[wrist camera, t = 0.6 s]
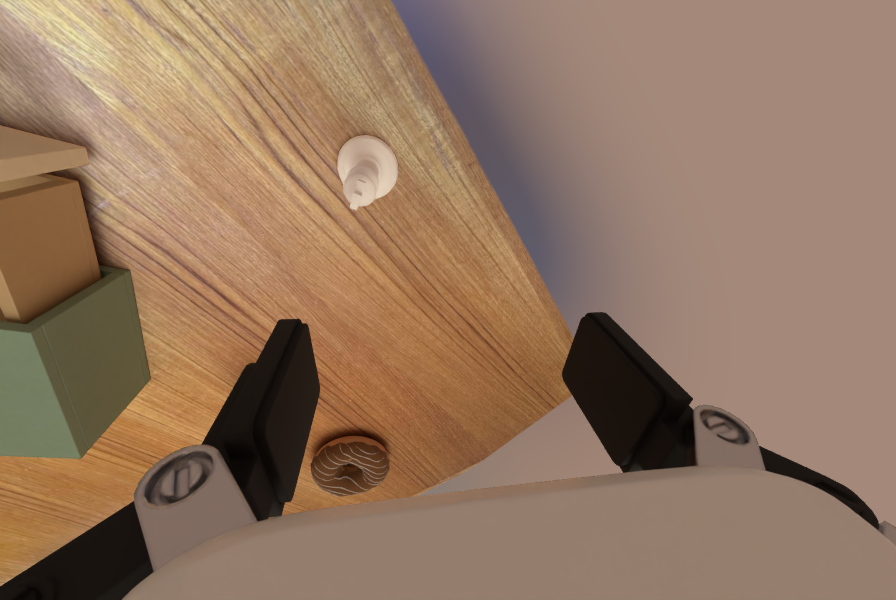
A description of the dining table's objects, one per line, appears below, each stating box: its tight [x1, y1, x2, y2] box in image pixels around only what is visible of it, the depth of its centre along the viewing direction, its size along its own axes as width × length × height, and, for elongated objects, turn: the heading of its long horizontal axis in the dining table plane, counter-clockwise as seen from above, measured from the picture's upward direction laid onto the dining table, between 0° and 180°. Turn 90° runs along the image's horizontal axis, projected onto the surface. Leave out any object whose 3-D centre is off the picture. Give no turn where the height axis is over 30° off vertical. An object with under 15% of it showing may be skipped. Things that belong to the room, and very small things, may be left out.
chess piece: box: [337, 135, 398, 210], centre depth 22 cm, size 5×5×10 cm
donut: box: [311, 436, 389, 496], centre depth 44 cm, size 11×11×4 cm
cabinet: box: [0, 265, 151, 459], centre depth 26 cm, size 14×12×9 cm
